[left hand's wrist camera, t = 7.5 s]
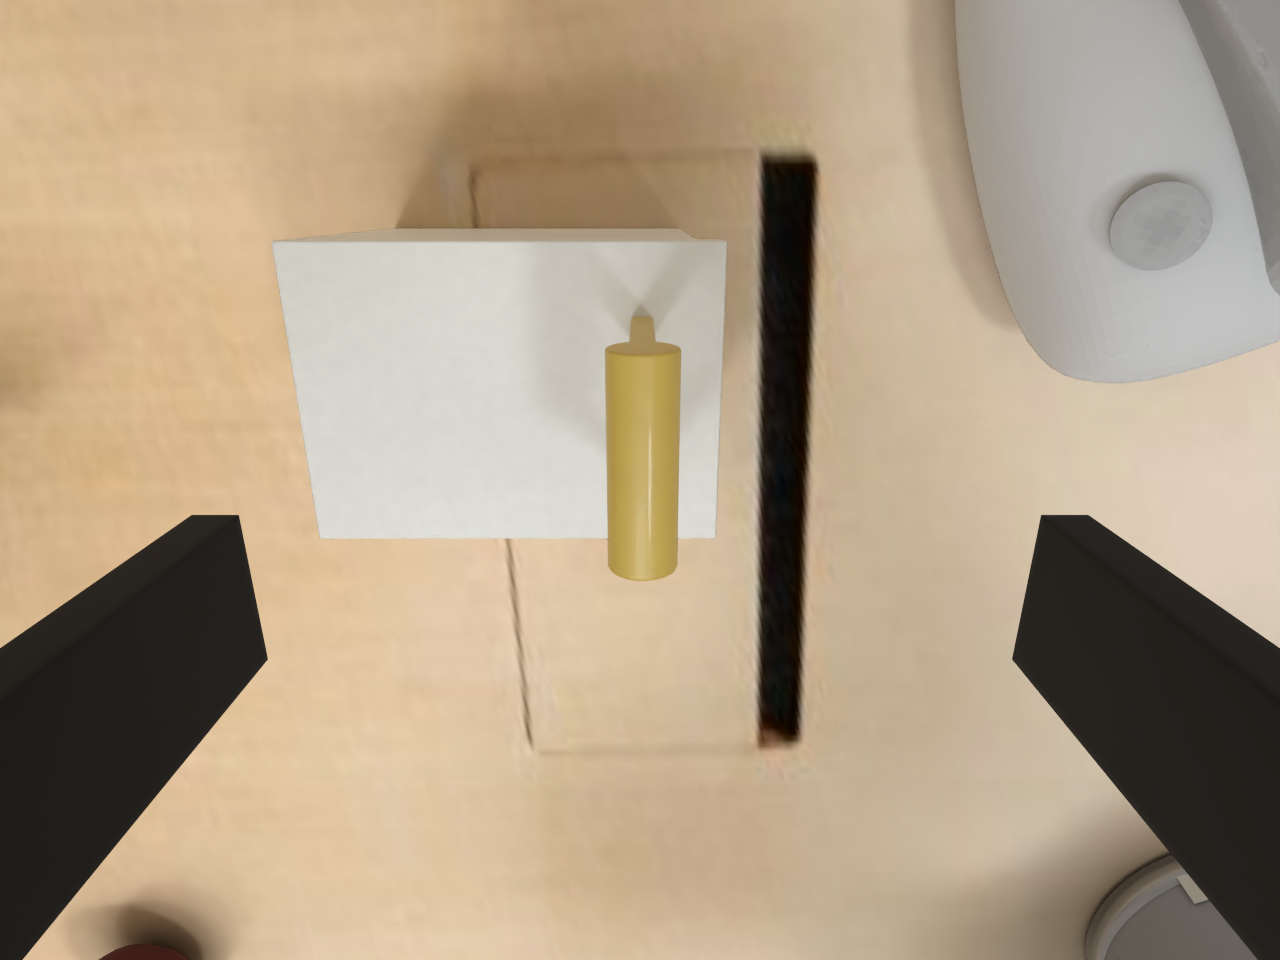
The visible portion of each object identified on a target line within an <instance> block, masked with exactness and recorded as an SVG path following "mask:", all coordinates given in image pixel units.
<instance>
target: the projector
mask: <svg viewBox="0 0 1280 960" xmlns="http://www.w3.org/2000/svg"><path fill="white" fill-rule="evenodd" d="M955 28H956V44H957V59H958V72H959V81H960V91H961V100H962V108H963V115H964V122H965V128H966V135H967V142H968V148H969V154H970V159H971V164H972V169H973V174H974V180H975V185H976V190H977V194H978V199H979V203H980V207H981V211H982V216H983V220H984V224H985V228H986V232H987V236H988V239H989V243H990V247H991V250H992V254H993V257H994V261H995V264H996V268H997V271H998V274H999V277H1000V280H1001V283H1002V286H1003V289H1004V292H1005V294H1006V297H1007V299H1008V302H1009V305H1010V307H1011V310H1012V312H1013V315H1014V317H1015V319H1016V321H1017V323H1018V325H1019V327H1020V329H1021V331H1022V332H1023V334H1024V336H1025V338H1026V340H1027V341H1028V343H1029V344H1030V346H1031V347H1032V348H1033V349H1034V351H1035V352H1036V353H1037V355H1038V356H1039V357H1040V358H1041V359H1042V360H1043V361H1044V362H1045V363H1046V364H1047V365H1048V366H1050V367H1051V368H1053V369H1054V370H1056V371H1058V372H1059V373H1061V374H1063V375H1065V376H1068V377H1071V378H1075V379H1078V380H1084V381H1090V382H1099V383H1132V382H1141V381H1147V380H1152V379H1157V378H1161V377H1166V376H1170V375H1174V374H1179V373H1182V372H1186V371H1189V370H1193V369H1196V368H1200V367H1203V366H1207V365H1210V364H1213V363H1216V362H1220V361H1223V360H1226V359H1229V358H1232V357H1235V356H1238V355H1241V354H1244V353H1247V352H1250V351H1253V350H1255V349H1258V348H1261V347H1264V346H1267V345H1270V344H1273V343H1275V342H1278V341H1280V0H955Z"/></svg>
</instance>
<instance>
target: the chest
mask: <svg viewBox="0 0 1280 960" xmlns="http://www.w3.org/2000/svg"><path fill="white" fill-rule="evenodd" d="M296 239H695V238H693V237H692V236H690V235H689V234H687V233H685V232H684V231H682V230H681V229H678V228H395V229H384V230H374V231H365V232H355V233H345V234H335V235H325V236H315V237H306V238H296Z"/></svg>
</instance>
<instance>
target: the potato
mask: <svg viewBox="0 0 1280 960" xmlns="http://www.w3.org/2000/svg"><path fill="white" fill-rule="evenodd" d="M99 960H190V959H188V958H187V957H186V956H184V955H183V954H181V953H180V952H178V951H177V950H175V949H172V948H168V947H163V946H158V945H152V944H137V945H129V946H125V947H122V948H119V949H116V950H114V951H113V952H111V953H109V954H107V955H106V956H104V957H102V958H101V959H99Z"/></svg>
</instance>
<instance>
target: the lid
mask: <svg viewBox="0 0 1280 960" xmlns="http://www.w3.org/2000/svg"><path fill="white" fill-rule="evenodd" d="M272 248H273V254H274V260H275V267H276V273H277V279H278V285H279V291H280V297H281V303H282V310H283V316H284V322H285V328H286V334H287V340H288V346H289V353H290V359H291V365H292V371H293V377H294V383H295V389H296V395H297V402H298V408H299V414H300V420H301V426H302V432H303V438H304V445H305V451H306V457H307V463H308V469H309V475H310V481H311V488H312V494H313V500H314V506H315V512H316V518H317V524H318V531H319V537H320V538H608V566H609V568H610V570H611V571H612V572H613V573H614V574H615V575H617V576H619V577H622V578H625V579H629V580H635V581H650V580H657V579H661V578H664V577H666V576H668V575H670V574H671V573H673V572H674V571H675V569H676V567H677V549H678V538H715V537H716V522H717V496H718V470H719V445H720V419H721V393H722V367H723V341H724V316H725V290H726V264H727V241H724V240H722V239H286V240H277V241H272Z"/></svg>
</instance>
